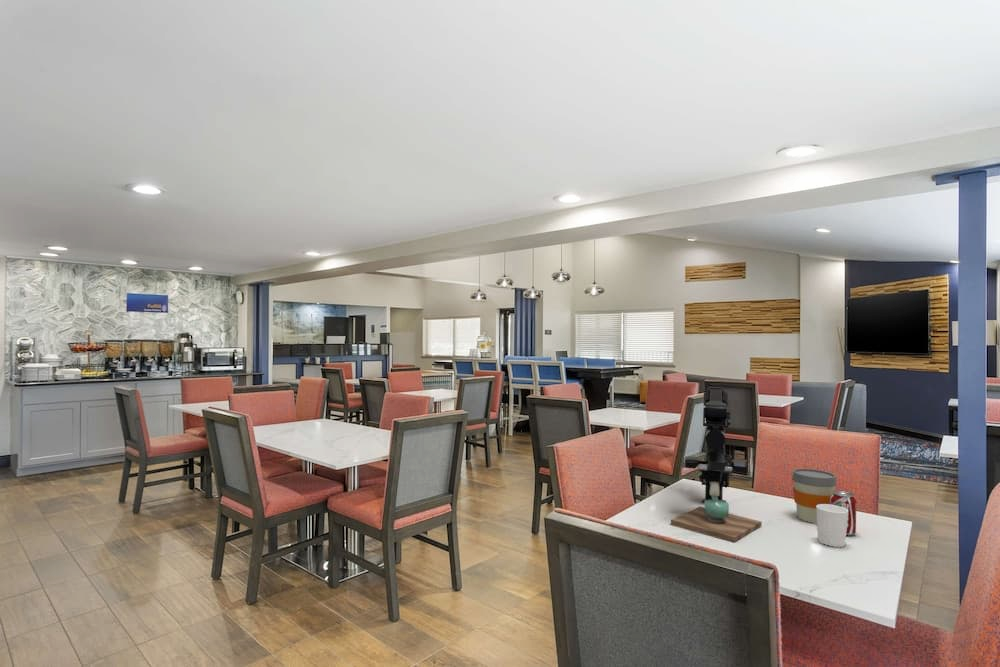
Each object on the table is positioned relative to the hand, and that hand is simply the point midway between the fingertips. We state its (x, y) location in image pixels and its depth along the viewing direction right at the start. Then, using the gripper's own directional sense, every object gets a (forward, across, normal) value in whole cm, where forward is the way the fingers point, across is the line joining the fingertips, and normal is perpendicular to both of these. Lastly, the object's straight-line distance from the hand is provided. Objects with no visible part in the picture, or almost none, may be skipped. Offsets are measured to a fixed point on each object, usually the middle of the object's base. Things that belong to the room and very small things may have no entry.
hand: (714, 490), depth 181 cm
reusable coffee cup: (+9, +31, +8) cm, 33 cm away
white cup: (+9, +30, -13) cm, 34 cm away
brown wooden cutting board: (+8, 0, -9) cm, 12 cm away
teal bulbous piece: (+5, 0, -5) cm, 7 cm away
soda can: (+9, +36, -3) cm, 37 cm away
